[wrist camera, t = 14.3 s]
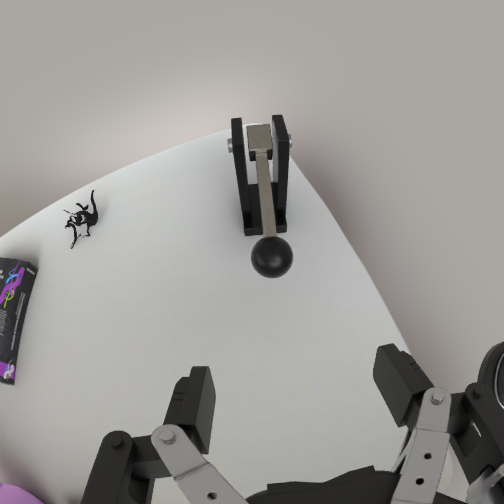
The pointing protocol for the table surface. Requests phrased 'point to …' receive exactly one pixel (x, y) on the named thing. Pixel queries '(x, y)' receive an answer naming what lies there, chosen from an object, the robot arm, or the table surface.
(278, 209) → the black lever mount
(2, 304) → the box
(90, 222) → the creature
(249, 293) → the table surface
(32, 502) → the teapot
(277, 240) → the lever
